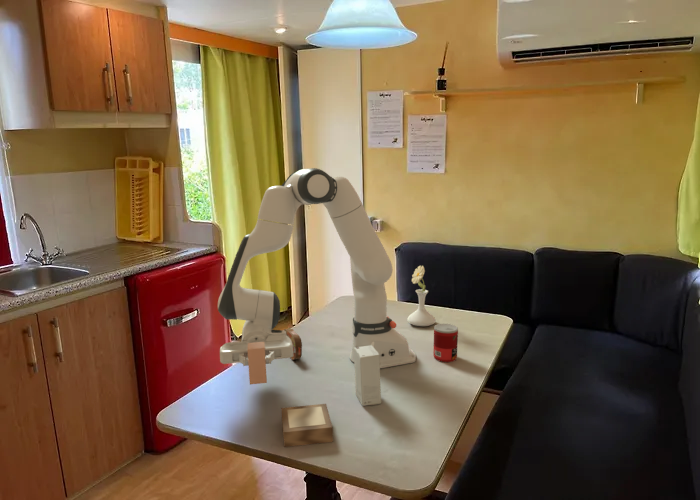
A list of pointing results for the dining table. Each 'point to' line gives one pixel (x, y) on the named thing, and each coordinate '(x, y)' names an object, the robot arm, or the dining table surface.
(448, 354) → the canned food
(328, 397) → the dining table surface
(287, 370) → the dining table surface
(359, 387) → the skincare box
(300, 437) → the plinth
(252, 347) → the terracotta block
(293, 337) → the tin
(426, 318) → the flower in vase
